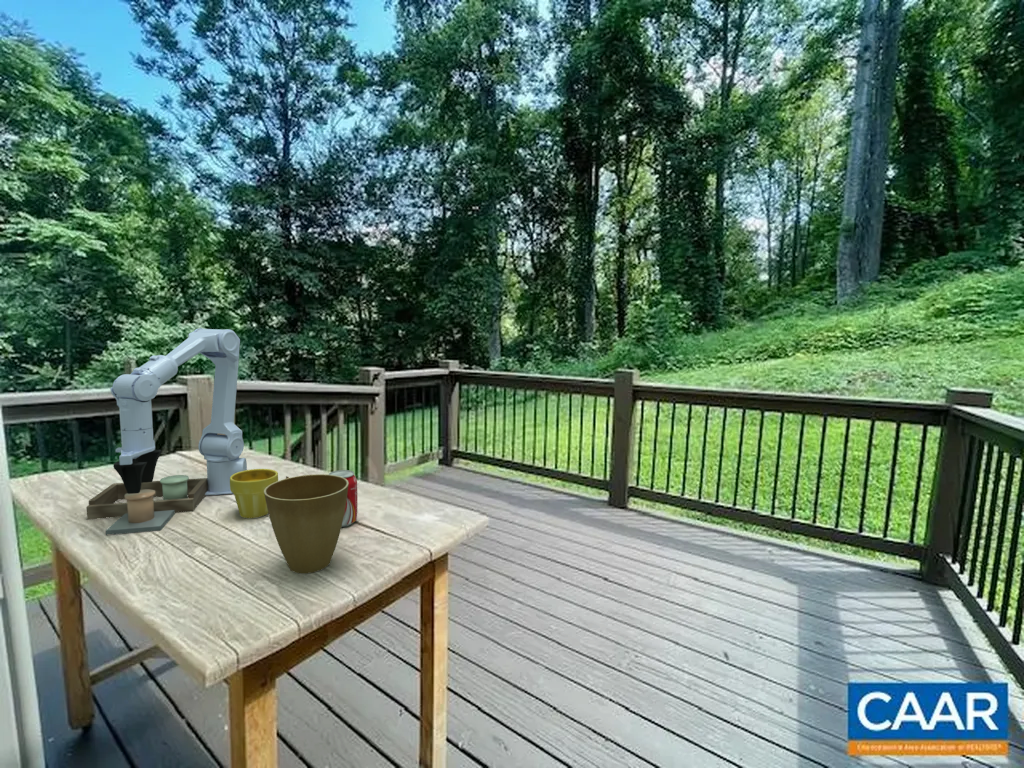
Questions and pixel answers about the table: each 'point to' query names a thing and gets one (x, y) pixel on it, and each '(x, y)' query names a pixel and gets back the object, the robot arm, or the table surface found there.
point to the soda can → (349, 496)
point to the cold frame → (196, 490)
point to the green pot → (174, 487)
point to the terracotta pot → (140, 506)
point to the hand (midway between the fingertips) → (140, 487)
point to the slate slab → (151, 525)
